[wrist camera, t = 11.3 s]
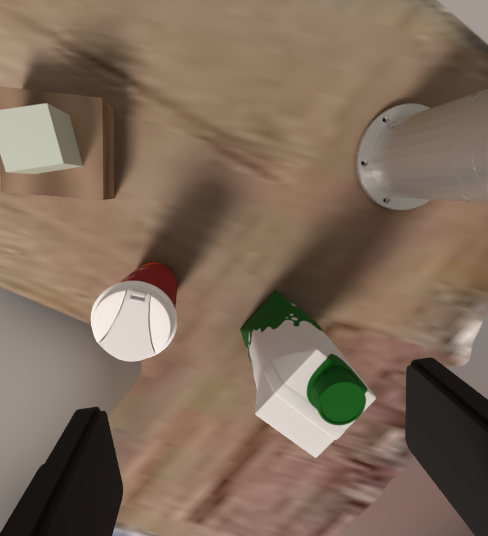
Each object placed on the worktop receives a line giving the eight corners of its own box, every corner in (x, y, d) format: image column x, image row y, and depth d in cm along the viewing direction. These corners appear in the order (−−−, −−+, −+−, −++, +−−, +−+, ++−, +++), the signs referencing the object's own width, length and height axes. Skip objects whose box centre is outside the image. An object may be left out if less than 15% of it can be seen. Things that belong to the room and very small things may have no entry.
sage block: (69, 114, 34) (46, 103, 30) (83, 166, 36) (63, 163, 31) (18, 122, 34) (-14, 111, 29) (33, 174, 35) (6, 172, 30)
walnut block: (115, 108, 39) (102, 97, 34) (115, 198, 41) (103, 199, 37) (21, 98, 38) (-6, 85, 33) (26, 191, 40) (1, 192, 35)
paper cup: (129, 247, 43) (93, 276, 29) (191, 261, 44) (184, 295, 30) (118, 306, 44) (79, 359, 31) (178, 318, 45) (165, 374, 32)
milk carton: (320, 320, 48) (398, 412, 28) (276, 367, 48) (323, 487, 29) (274, 280, 46) (324, 351, 26) (229, 330, 46) (246, 433, 27)
